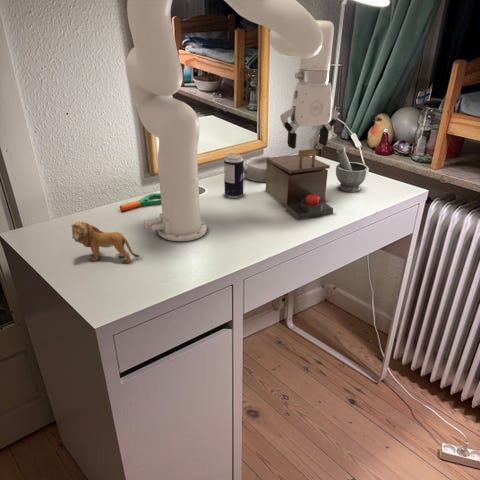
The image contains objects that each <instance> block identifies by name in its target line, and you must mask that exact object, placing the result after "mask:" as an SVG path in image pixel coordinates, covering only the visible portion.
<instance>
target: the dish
mask: <svg viewBox="0 0 480 480" xmlns="http://www.w3.org/2000/svg"><path fill="white" fill-rule="evenodd" d="M272 157H273V156H268V155H267V156H265V155H264V156H257V157H251V158H249V159H248V160H246V161H245V163H244V178H246V179H248V180H251V181H255V182H258V183H259V182H260V183H261V182H262V183H266V166H267V158H272Z"/></svg>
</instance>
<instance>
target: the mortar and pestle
mask: <svg viewBox="0 0 480 480" xmlns="http://www.w3.org/2000/svg"><path fill="white" fill-rule="evenodd" d="M335 152H336V154H337V156H338V160H339V161H338V162H339V163H338V164H337V165H336V166H335V176H336V179H337V181H338V182H339V183H340V184H339V189H340V191H344V192H350V193H356V192H359V191H360V190H361V185H362V184H363V183H364V181H366V179H367V176H368V174H369V170H370V167H369V166H368V165H367V164H365V163H360V162H355V161H349V158H348V155H347V153H346V147H345V146H341V147H339V148H337V149H336V150H335Z"/></svg>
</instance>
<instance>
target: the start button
mask: <svg viewBox="0 0 480 480" xmlns="http://www.w3.org/2000/svg"><path fill="white" fill-rule="evenodd" d="M306 204H310V205H316V204H319V196H317V195H308V196H306Z"/></svg>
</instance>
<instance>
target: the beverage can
mask: <svg viewBox="0 0 480 480" xmlns="http://www.w3.org/2000/svg"><path fill="white" fill-rule="evenodd" d="M223 165H224V166H223V172H224V175H223V177H224V181H223V182H224V194H225V196H227V198H230V199H238V198H241V196H243V194H244V176H245V173H244V166H245V163H244V158H243V155H242V154H241V153H236V152H235V153H227V154H225V158H224V159H223Z"/></svg>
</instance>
